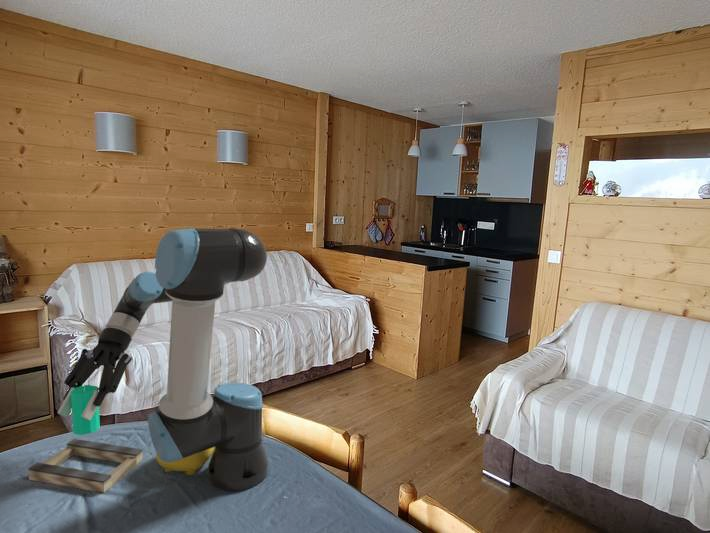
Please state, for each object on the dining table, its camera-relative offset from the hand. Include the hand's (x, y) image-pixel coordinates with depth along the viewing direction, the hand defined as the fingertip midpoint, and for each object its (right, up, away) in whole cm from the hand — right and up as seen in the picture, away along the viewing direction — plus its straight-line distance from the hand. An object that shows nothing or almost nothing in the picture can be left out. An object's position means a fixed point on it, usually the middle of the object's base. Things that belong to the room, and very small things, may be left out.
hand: (73, 416), depth 108 cm
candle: (+1, -5, +4) cm, 6 cm away
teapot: (+24, -16, +11) cm, 31 cm away
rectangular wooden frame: (0, -16, +6) cm, 16 cm away
